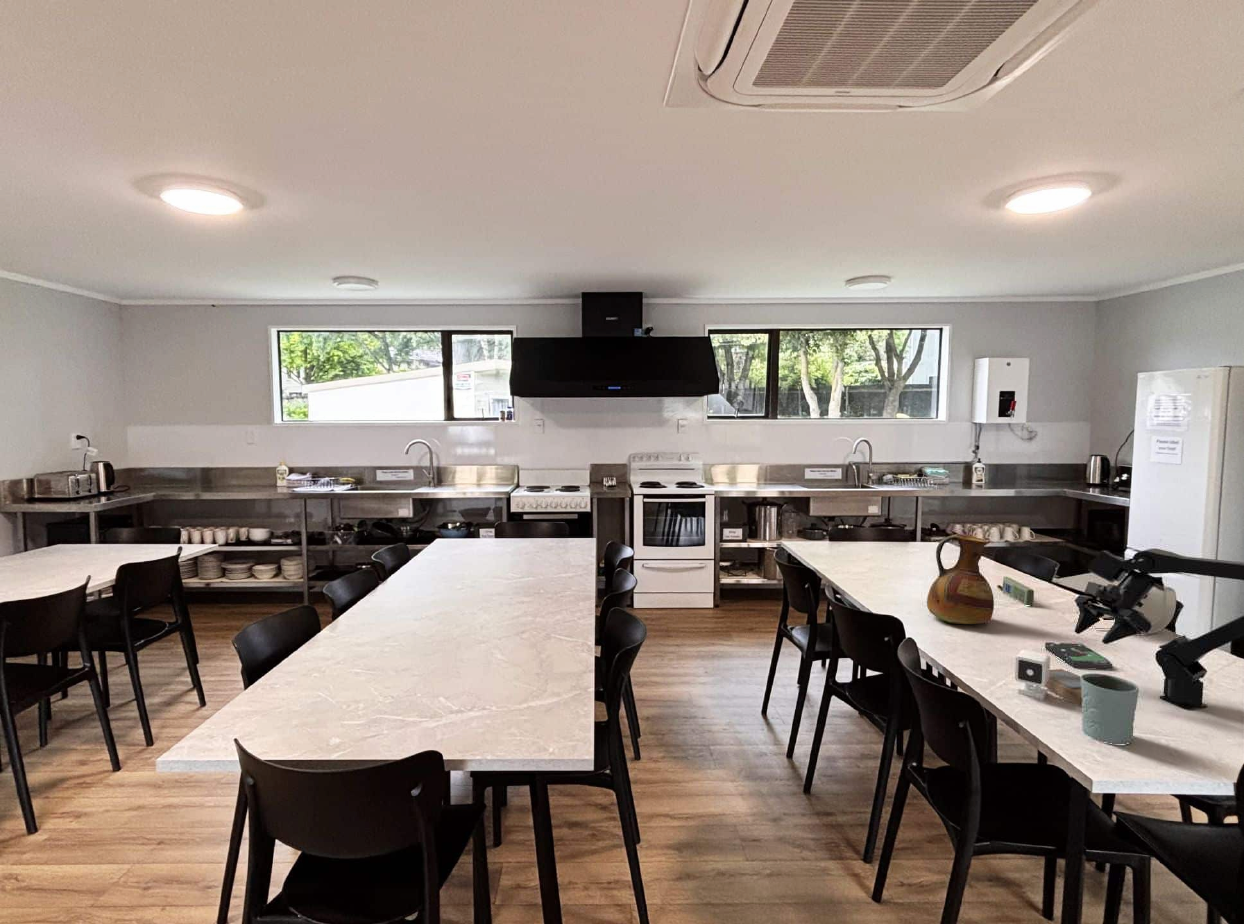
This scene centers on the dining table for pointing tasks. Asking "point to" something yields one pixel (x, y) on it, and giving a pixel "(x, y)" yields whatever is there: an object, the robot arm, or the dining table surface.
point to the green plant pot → (1108, 707)
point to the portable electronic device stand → (1154, 609)
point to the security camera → (1032, 673)
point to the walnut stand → (1065, 685)
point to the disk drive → (1078, 655)
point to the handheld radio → (1017, 591)
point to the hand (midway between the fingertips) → (1089, 637)
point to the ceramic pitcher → (962, 585)
